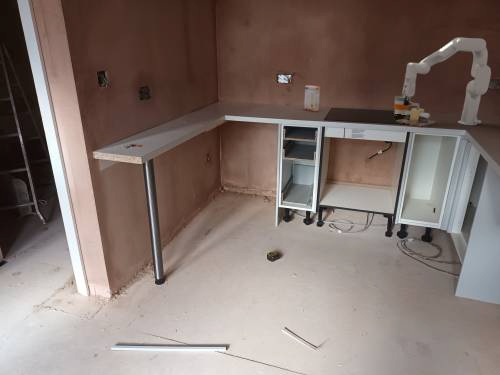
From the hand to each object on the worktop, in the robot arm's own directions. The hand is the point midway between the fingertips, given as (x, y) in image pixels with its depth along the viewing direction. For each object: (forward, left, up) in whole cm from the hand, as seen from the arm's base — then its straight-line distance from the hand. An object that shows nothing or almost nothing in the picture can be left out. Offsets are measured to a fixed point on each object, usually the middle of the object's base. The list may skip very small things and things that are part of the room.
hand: (405, 105), depth 285 cm
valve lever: (-3, -4, -2) cm, 5 cm away
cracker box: (+78, +21, -13) cm, 82 cm away
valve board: (-8, -4, -13) cm, 15 cm away
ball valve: (-8, -4, -11) cm, 14 cm away
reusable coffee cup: (+17, -22, -13) cm, 31 cm away
